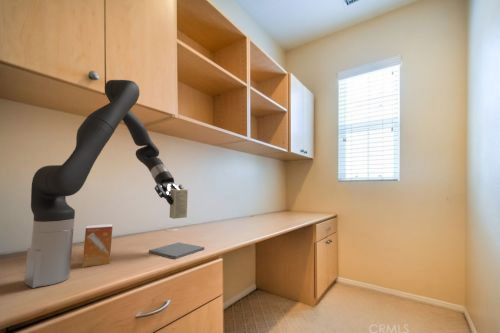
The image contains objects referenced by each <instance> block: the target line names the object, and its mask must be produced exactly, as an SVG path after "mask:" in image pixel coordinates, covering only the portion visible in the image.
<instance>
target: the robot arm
mask: <svg viewBox="0 0 500 333" xmlns="http://www.w3.org/2000/svg"><path fill="white" fill-rule="evenodd" d="M104 93H105V95H106V97H107V99H108V101H109V103H107V104H104V105H103V106H102V107H100V108H98V109H96V110H94V111H93V112H91V113H90V114H88V115H87V117H85V119H84V121H83V122H82V123H81V124H80V125H79V127H78V129H77V132H76V141H75V142H76V143H75V144H76V145H75V148H74V150H73V152H72V153H70V156H68V158H67V159H66V160H65V161H64V162H63V163H62V164H60V165H57V164H56V165H55V164H53V165H45V166H42V167H40V168H39V169H37V170H36V172H35V173H34V174H33V177H32V181H31V188H30V189H31V191H30V192H31V193H30V209H31V212H32V214H33V220H32V221H33V222H32V233H31V243H30V247H28V248H27V254H26V261H25V262H26V264H25V273H24V274H25V275H24V282H23V283H24V284H25V285H27V286H29V287H30V288H31V289H34V288H39V287H45V286H51V285H55V284H58V283H62V282H64V281H66V280H68V279H69V278H70V276H71V269H72V266H71V265H72V253H73V239H74V227H75V216H76V215H75V214H76V211H75V209H74V208H73V207H72V206H70V205H69V204H68V203H67V199H66V197H70V196H73V195H75V194H76V193H78V192H79V191H81V189H82V188H83V186H84V185H85V182H86V181H87V179H88V178H89V174H90V172H91V170H92V168H93V166H94V165H95V163H96V161H97V159H98V157H99V155H101V152H102V151H103V149H105V146H106V145H107V143H108V142H109V141H110V139H111V137H112V136H113V134H114V133H115V131H116V129H117V128H118V126H119V125H120V124H121V122H122V121H123V123H124V125H125V127H126V128H127V130H128V132H129V135H130V136H131V138H132V140H133V143H134V144H135V145H136V146H137V147H140V148H138V149H137V150H135V156H136V159H137V160H138V161H139V162H140V163H142V164H143V165H144V166H146V168H147V169H148V171H149V172H150V175H151V177H152V178H153V180H154V182H155V184H156V185H155V187H154V188H153V189H154V190H155V191H156V194H157V195H158V197H159V198H163V199H165V200H166V202H167V203H168V205H169V206H170V205H172V204H173V203H174V201H173V199H172V197H171V196H170V192H171V190H182V189H184V187H183V184H178V185H177V184H175V178H174V177H173V175H172V173H171V172H170V171H169V168H167V167H166V165H165V164H164V162H163V161H162V159H160V157H159V156H160V149H159V148H158V147H157V146H156V145H155V143H154V142H153V141H152V139H151V138H150V135H149V132H148V130H147V128H146V126H145V124H144V123H143V122H142V120H140V119H139V118H138V117H137V116H136V115H135V114H134V113H133V112H132V110H131V109H132V108H133V107H134V106H135V105H136V104H137V102H138V100H139V98H140V87H139V85H138V84H137V83H136V82H134V81H133V80H129V79H109V80H107V81H106V83H105V85H104ZM184 190H185V189H184Z"/></svg>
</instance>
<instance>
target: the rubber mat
mask: <svg viewBox="0 0 500 333" xmlns="http://www.w3.org/2000/svg"><path fill="white" fill-rule="evenodd" d="M204 250H205V246H199V245H195V244H188V243H184V242H176V243H175V242H174V243H170V244H166V245H164V246H159V247H156V248H152V249H149V250H148V253H149V254H152V255H153V254H154V255H158V256H162V257H165V258H170V259H174V260H176V259H180V258H183V257H187V256H189V255H192V254H195V253H198V252H202V251H204Z"/></svg>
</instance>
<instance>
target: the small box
mask: <svg viewBox="0 0 500 333" xmlns="http://www.w3.org/2000/svg"><path fill="white" fill-rule="evenodd" d="M112 240H113V223H106V224H105V223H104V224H94V225H93V224H92V225H86V226H85V232H84V246H83V253H82V254H83V255H82V268H86V267H91V266H101V265H107V264H108V265H109V264H110V263H111V255H112V254H111V253H112Z"/></svg>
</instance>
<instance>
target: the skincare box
mask: <svg viewBox="0 0 500 333" xmlns="http://www.w3.org/2000/svg"><path fill="white" fill-rule="evenodd" d="M188 191H189V189H182V190H171V192H170V194H169V195H170V196H171V197H172V199H173V201H174V203H173V204H172V205H170V204H169V218H170V219H173V220H174V219H183V218H188V217H187V216H188V196H189V195H188V194H189V193H188Z"/></svg>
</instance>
